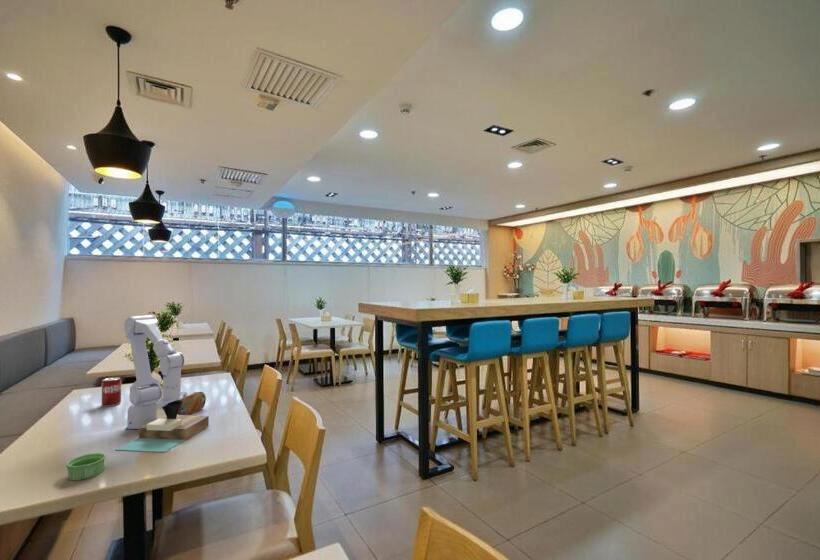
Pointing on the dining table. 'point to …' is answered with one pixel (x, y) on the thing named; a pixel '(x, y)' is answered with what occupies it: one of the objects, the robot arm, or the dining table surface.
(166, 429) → the cream bevelled block
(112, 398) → the soda can
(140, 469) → the dining table surface
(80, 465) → the ramekin
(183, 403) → the tin
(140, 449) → the mat
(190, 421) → the wooden block
